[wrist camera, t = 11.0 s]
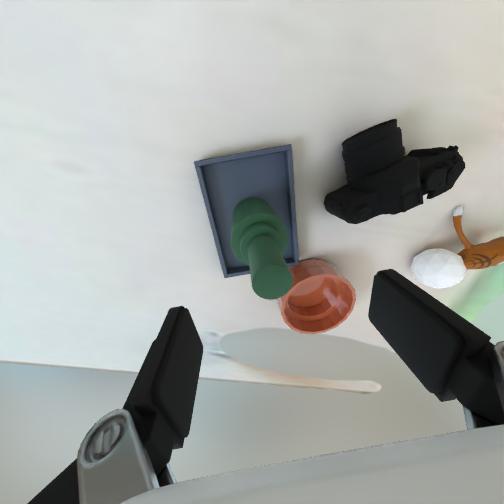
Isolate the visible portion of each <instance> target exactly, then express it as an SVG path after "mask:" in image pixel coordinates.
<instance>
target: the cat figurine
mask: <svg viewBox="0 0 504 504" xmlns="http://www.w3.org/2000/svg"><path fill="white" fill-rule="evenodd" d="M463 211H464V208H463V207H462V206H459V207H457V208H456V209H455V210H454V213H453V222H454V227H455V230H456V232H457V235H458V237H459V239H460V240H461V242H462V243H463V244H464V246H465V249H463V250H462V251H460V252H459V253H458V255H457V254H455V253H453V252H450V251H448V250H446V249H428V250H425V251H424V252H422V253H420V254H418V255H417V256H415V257H414V259H413V262H412V265H411V267H410V269H411V271H412V273H413V275H414V277H415V278H416V279H417V280H418V281H419V282H421V283H422V284H424V285H427V286H430V287H433V288H437V289H440V288H446V287H451V286H454V285H456V284H457V283H459V282H461V281H462V280H463V278H464V276H465V273H466V271H467V269H483V268H487V267H490V266H495V265H498V264H501V263H503V262H504V237H499V238H496V239H493V240H491V241H489V242H487V243H481V244H478V245H472V244H470V243H469V241H468V240H467V239H466V237H465V236H464V234H463V231H462V227H461V217H462V213H463Z"/></svg>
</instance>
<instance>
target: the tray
mask: <svg viewBox="0 0 504 504" xmlns="http://www.w3.org/2000/svg"><path fill="white" fill-rule="evenodd" d="M291 149H292V147H291V144H290V145H284V146H279V147H273V148H267V149H262V150H256V151H250V152H245V153H239V154H234V155H228V156H222V157H217V158H211V159H205V160H200V161H194V164H195V168H196V172H197V175H198V179H199V183H200V187H201V191H202V194H203V198H204V202H205V206H206V209H207V213H208V217H209V221H210V225H211V228H212V232H213V236H214V240H215V244H216V247H217V251H218V255H219V259H220V263H221V266H222V270H223V274H224V278H228V277H233V276H239V275H245V274H250V266H248V265H246V264H244V263H242V262H241V261H240V260H239V259H238V258H237V257H236V256H235V254H234V252H233V250H232V247H231V232H232V219H233V212H234V209H235V207H236V206H237V204H238V203H239V202H241V201H242V200H244V199H246V198H250V197H256V198H260V199H262V200H264V201H265V202H266V203H267V204H268V205H269V206H270V207H271V209H272V210H273V211H274V212H275V214H276V215H277V216H278V217H279V219H280V220H281V221H282V222H283V224H284V225H285V227H286V229H287V231H288V236H289V242H288V247H287V249H286V251H285V253H284V255H283V258H284V260H285V262H286V264H287V266H288V267H290V266H295V265H299V258H298V242H297V226H296V211H295V195H294V179H293V163H292V150H291Z"/></svg>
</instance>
